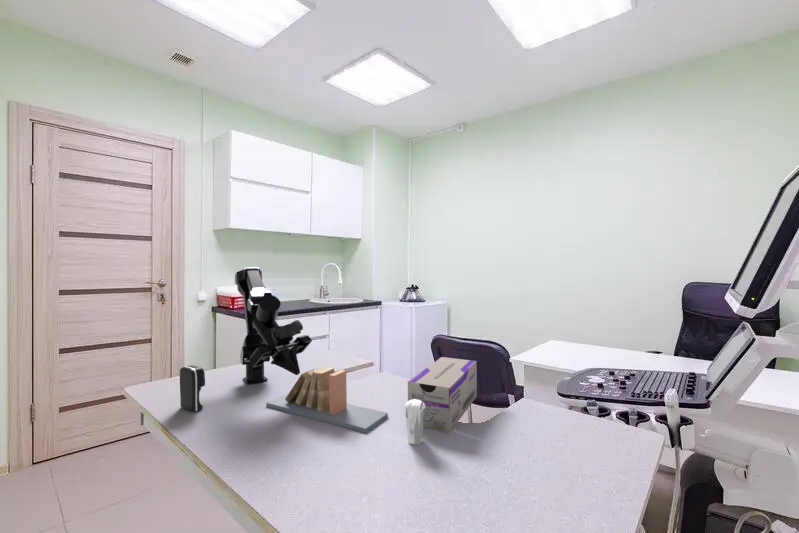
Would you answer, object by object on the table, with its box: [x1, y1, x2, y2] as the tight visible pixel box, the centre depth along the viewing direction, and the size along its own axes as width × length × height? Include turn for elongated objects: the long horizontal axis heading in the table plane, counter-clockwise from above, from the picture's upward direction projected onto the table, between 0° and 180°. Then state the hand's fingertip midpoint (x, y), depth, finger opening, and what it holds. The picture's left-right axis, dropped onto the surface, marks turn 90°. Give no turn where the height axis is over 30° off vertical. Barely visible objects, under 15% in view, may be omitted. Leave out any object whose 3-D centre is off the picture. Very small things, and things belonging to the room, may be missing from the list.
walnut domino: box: [285, 368, 315, 404], centre depth 105 cm, size 2×5×10 cm
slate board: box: [265, 392, 389, 434], centre depth 101 cm, size 33×10×1 cm, turn 61°
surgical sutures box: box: [407, 356, 478, 433], centre depth 102 cm, size 25×11×11 cm, turn 154°
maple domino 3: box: [317, 367, 335, 412], centre depth 100 cm, size 2×5×10 cm, turn 151°
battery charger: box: [179, 364, 206, 413], centre depth 103 cm, size 7×4×11 cm, turn 57°
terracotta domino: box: [329, 369, 348, 415], centre depth 98 cm, size 2×5×10 cm, turn 151°
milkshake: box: [404, 399, 426, 446], centre depth 84 cm, size 4×5×10 cm
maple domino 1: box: [295, 367, 321, 406], centre depth 103 cm, size 2×5×10 cm, turn 151°
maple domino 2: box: [306, 366, 329, 409], centre depth 102 cm, size 2×5×10 cm, turn 151°
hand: (298, 373), depth 105 cm, fingers closed
